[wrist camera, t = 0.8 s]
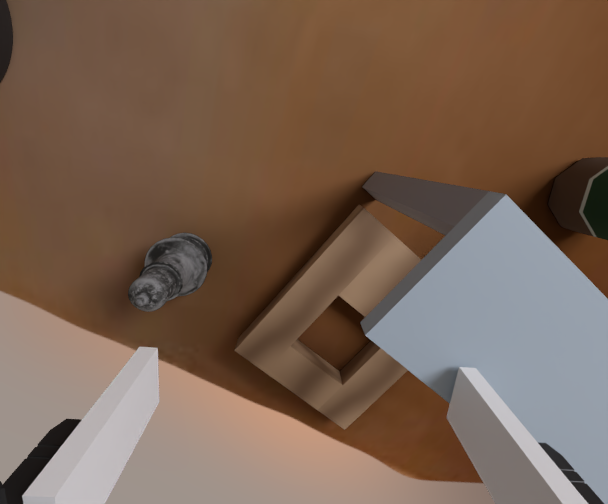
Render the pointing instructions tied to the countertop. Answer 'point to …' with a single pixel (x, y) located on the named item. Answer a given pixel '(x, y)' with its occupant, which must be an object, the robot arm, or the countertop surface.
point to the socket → (314, 300)
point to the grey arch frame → (500, 317)
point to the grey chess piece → (171, 271)
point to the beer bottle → (582, 197)
